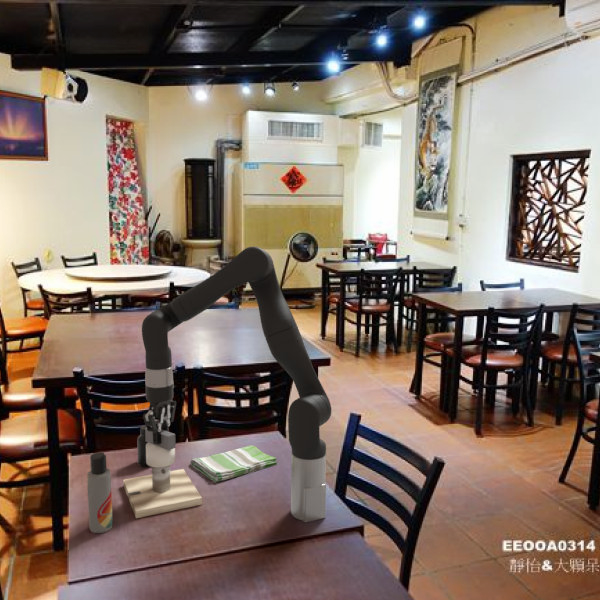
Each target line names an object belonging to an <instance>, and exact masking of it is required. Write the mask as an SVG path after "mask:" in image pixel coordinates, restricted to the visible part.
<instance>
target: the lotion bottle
mask: <svg viewBox="0 0 600 600" xmlns="http://www.w3.org/2000/svg"><path fill="white" fill-rule="evenodd" d="M89 459H90V460H89V462H90V470H89V471H88V472H87V475H86V482H87V485H86V486H87V502H88V503H87V505H88V506H87V507H88V508H87V509H88V525H89V530H90V531H91V533H93V534H102V533H106V532H108V531H110V530H111V529H112V528H113V497H112V474H111V473H112V472H111V470H110V469H109V468H108V467H107V455H106V454H105V452H103V451H98V452H95V453H92V454H91V455H90V458H89Z"/></svg>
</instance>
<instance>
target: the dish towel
mask: <svg viewBox="0 0 600 600" xmlns="http://www.w3.org/2000/svg"><path fill="white" fill-rule="evenodd" d="M277 464H278V462H277V458H276V457H275V456H272V455H269V454H267V453H264V452H263V451H262V450H260V449H259V448H258V447H257V446H255V445H251V444H250V445H246V446H244V447H239V448H236V449H231V450H229V451H225V452H220V453H216V454H212V455H209V456H206V457H193V458H192V459H190V465H191V466H192V468H194V469H195V470H197V471H199V472H200V473H201V474H203V475H204V476H206V477H207V478H208V479H209V480H211V481H212V482H213V483H220V482H223V481H226V480H231V479H233V478H237V477H240V476H243V475H246V474H249V473H253V472H256V471H260V470H263V469H267V468H270V467H273V466H277Z"/></svg>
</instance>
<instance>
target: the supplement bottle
mask: <svg viewBox="0 0 600 600" xmlns="http://www.w3.org/2000/svg"><path fill="white" fill-rule="evenodd" d="M145 428H146V425H142V426H141V427H140V431H139V432H140V435H138V436H137V441H136V442H137V448H136V449H137V464H138V465H139V466H141V467H144V468H146V467H148V468H149V467H151V466H149V465H147V463H146V444H147V443H148V442H146V437H145Z"/></svg>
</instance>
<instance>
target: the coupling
mask: <svg viewBox="0 0 600 600" xmlns="http://www.w3.org/2000/svg"><path fill="white" fill-rule="evenodd" d="M145 437H146V442H148V443H147V444H146V463H147V465H149V466H150V467H151V468H152V467H165V466H169V465H170V466H171V465H173V464H174V463H175V461H176V434H175V433H173V432H170V431H169V432H168V431H165V430H162V429H161V444H159V445H157V444H154V443H153V432H151V431H147V428H145Z"/></svg>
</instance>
